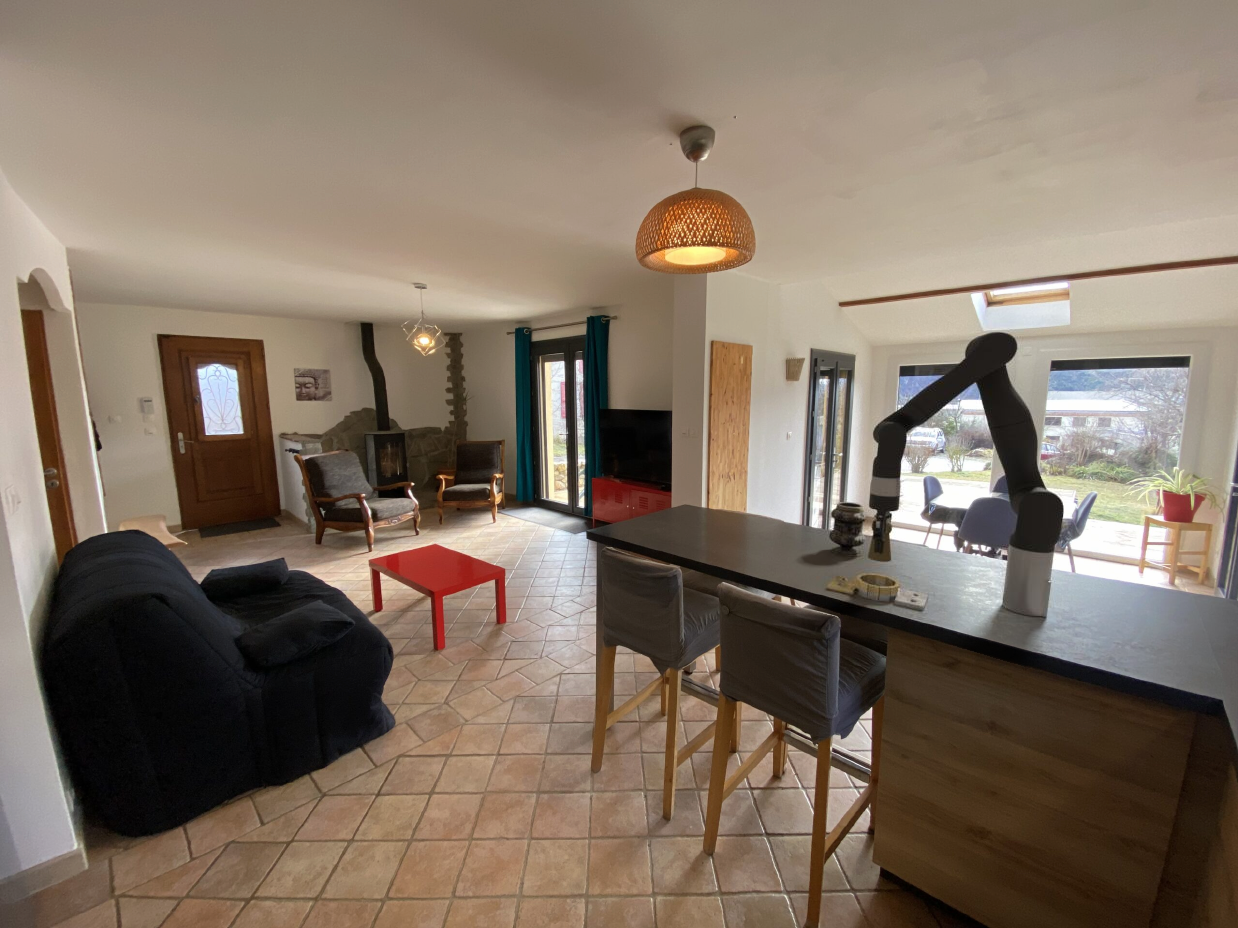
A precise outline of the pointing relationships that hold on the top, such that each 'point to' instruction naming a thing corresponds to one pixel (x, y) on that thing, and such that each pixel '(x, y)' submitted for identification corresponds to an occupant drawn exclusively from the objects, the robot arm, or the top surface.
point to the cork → (886, 549)
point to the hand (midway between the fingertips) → (880, 550)
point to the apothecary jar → (848, 528)
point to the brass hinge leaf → (865, 584)
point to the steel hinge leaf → (897, 597)
